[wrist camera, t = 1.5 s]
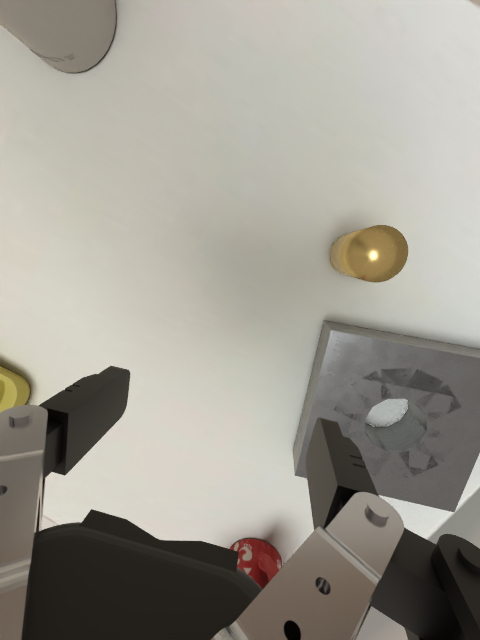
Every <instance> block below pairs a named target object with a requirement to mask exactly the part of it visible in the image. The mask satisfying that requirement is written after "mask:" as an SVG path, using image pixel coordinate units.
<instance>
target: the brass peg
mask: <svg viewBox="0 0 480 640" xmlns="http://www.w3.org/2000/svg"><path fill="white" fill-rule="evenodd" d="M407 256H408V245H407V242H406V240H405V238H404V236H403V235H402V234H401V233H400V232H399V231H398V230H397V229H395V228H393V227H390V226H386V225H377V226H373V227H369V228H366V229H362V230H359V231H356V232H352V233H349V234H345V235H343V236H341V237H339V238H338V239H337V240H336V241H335V242H334V243H333V245H332V247H331V250H330V262H331V264H332V266H333V267H334V269H335V270H336V271H338V272H339V273H342V274H345V275H348V276H351V277H355V278H358V279H361V280H365V281H368V282H383V281H386V280H389V279H391V278H393V277H394V276H395V275H397V274H398V273H399V272H400V271H401V270H402V268H403V267H404V265H405V263H406V260H407Z"/></svg>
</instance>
